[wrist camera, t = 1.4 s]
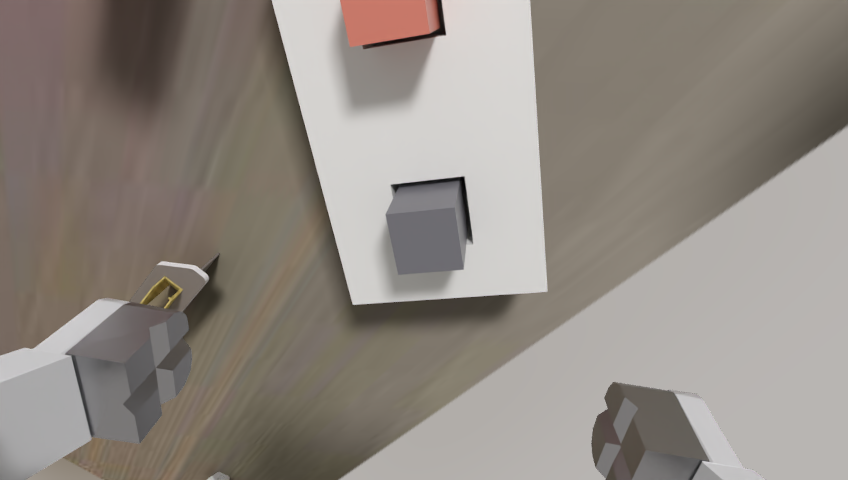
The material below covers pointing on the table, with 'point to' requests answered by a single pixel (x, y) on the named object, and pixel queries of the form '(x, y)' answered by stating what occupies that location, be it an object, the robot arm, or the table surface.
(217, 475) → the grey irregular lump
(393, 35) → the red plug
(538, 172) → the block
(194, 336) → the table surface
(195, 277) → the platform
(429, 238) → the gray rectangular block
